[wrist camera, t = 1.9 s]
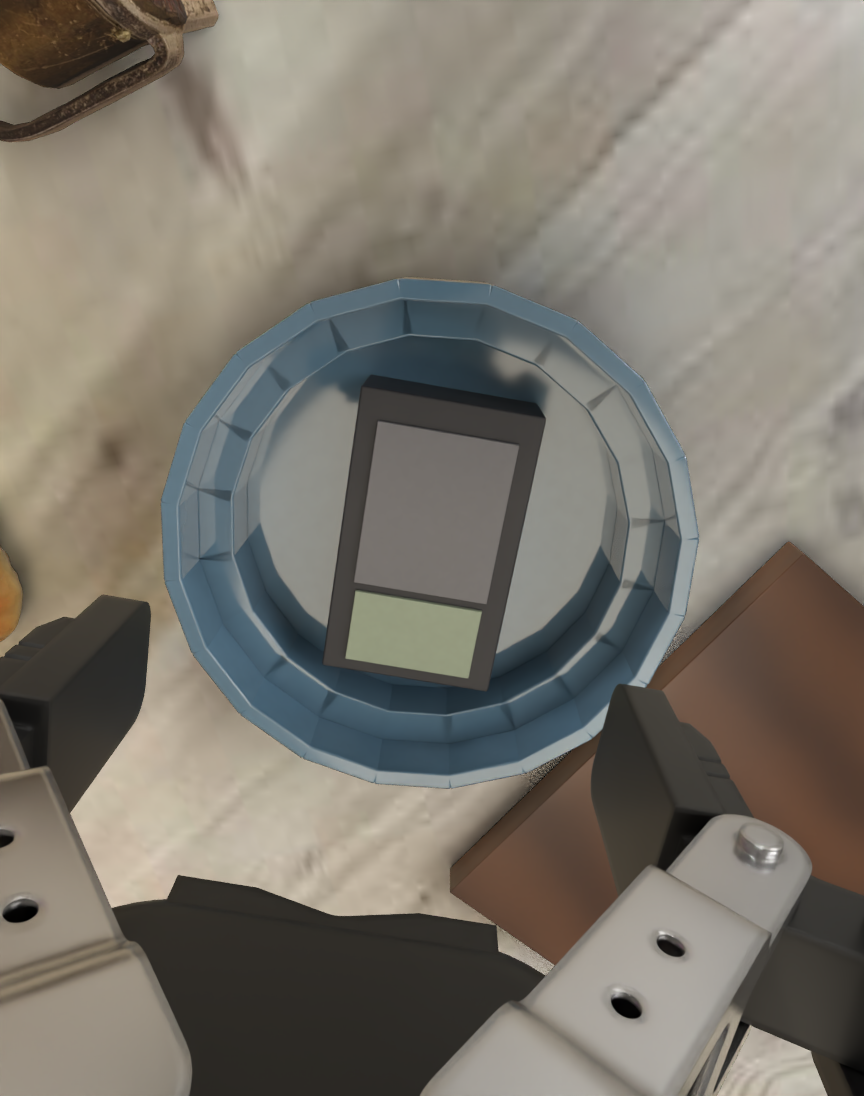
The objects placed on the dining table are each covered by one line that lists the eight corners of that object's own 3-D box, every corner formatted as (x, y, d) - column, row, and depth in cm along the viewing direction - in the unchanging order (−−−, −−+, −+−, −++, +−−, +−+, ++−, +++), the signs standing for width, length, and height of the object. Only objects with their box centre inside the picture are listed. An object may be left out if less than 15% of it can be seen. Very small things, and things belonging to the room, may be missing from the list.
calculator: (370, 373, 29) (360, 386, 26) (537, 403, 29) (547, 418, 26) (333, 630, 32) (320, 667, 29) (484, 655, 32) (487, 694, 29)
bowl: (396, 167, 28) (384, 146, 23) (755, 489, 31) (811, 529, 26) (119, 542, 32) (61, 590, 27) (457, 788, 35) (458, 869, 30)
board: (788, 540, 31) (803, 553, 30) (1022, 748, 34) (1047, 769, 33) (449, 868, 37) (449, 892, 35) (675, 1026, 39) (683, 1055, 38)
